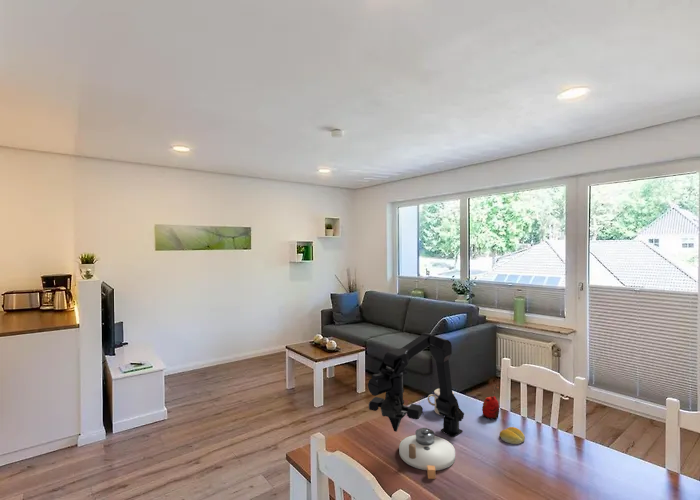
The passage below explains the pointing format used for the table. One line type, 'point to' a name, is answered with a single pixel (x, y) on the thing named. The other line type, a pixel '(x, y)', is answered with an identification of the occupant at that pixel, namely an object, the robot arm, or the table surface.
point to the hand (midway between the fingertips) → (395, 431)
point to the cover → (425, 436)
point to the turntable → (427, 453)
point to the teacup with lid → (436, 395)
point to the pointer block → (431, 472)
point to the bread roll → (512, 435)
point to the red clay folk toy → (491, 407)
